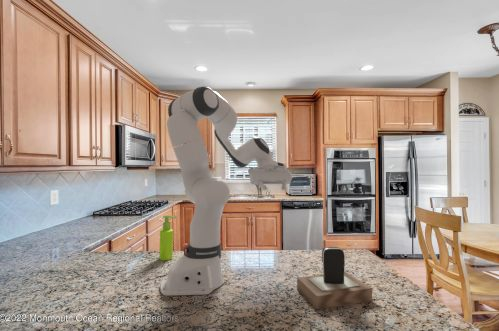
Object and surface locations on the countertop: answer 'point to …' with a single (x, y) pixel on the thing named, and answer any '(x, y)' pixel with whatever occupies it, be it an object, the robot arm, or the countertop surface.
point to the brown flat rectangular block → (333, 291)
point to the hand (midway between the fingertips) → (274, 189)
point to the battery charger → (333, 265)
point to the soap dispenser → (166, 240)
